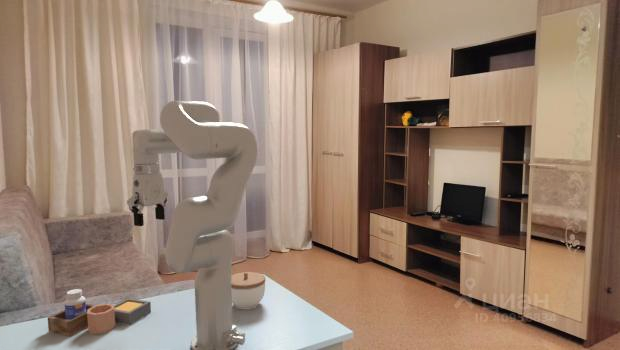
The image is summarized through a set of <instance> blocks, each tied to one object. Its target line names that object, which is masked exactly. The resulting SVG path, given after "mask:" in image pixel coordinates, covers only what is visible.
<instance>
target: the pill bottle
mask: <svg viewBox="0 0 620 350" xmlns="http://www.w3.org/2000/svg"><path fill="white" fill-rule="evenodd" d="M82 290H83V289H80V288H76V289H71V290H68V291H67V292H66V299H65V300H64V310H65V316H66V319H68V320H71V319H73V318H75V317H77V316H79V315H81V314H83V313H85V312H86V304H87V302H86V297H85V296H83V291H82Z"/></svg>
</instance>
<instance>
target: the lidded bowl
mask: <svg viewBox="0 0 620 350" xmlns="http://www.w3.org/2000/svg"><path fill="white" fill-rule="evenodd" d="M265 289H266V276H265V275H264V274H263V273H259V272H257V271H256V272H255V271H245V272H243V271H242V272H238V273H234V274H231V291H232V305H234V306H235V307H236V309H238V310H242V309H243V310H244V311H245V310H252V309H254V308H257V307H258V305H259V304H260V303H261V301H262V300H263V298H264V295H265V291H266V290H265Z"/></svg>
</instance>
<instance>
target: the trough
mask: <svg viewBox="0 0 620 350" xmlns="http://www.w3.org/2000/svg"><path fill="white" fill-rule="evenodd" d="M96 305H97V304H96ZM96 305H95V304H91V303H90V304H89V303H86V312H85V313H83V314H81V315H79V316H77V317H75V318H73V319H71V320H68V319H66V316H65V309H64V310H61V311H59V312H57V313H55V314H53V315H50V316H48V317H47V326H48V327H47V329H48V332H49V333H52V334H57V335H62V336H67V337H72V336H74V335H76V334H78V333H80V332H82V331H84V330H85V329H86V330H87V329H88V320H87V310H88V309H89V308H91V307H94V306H96Z"/></svg>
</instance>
